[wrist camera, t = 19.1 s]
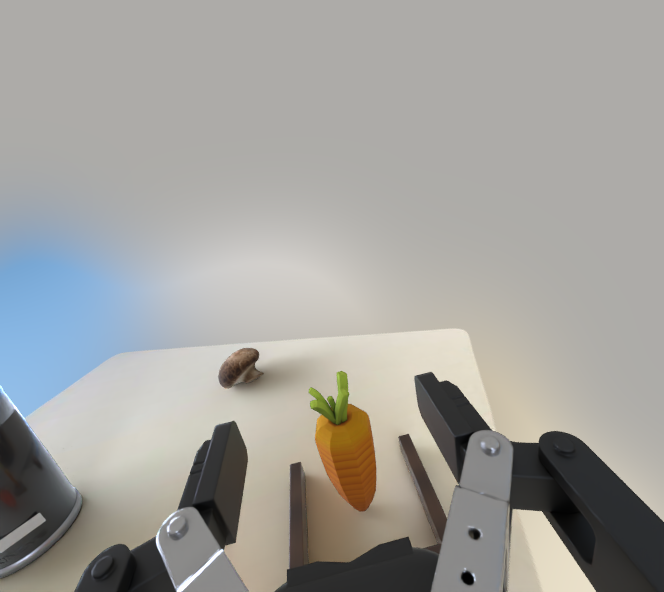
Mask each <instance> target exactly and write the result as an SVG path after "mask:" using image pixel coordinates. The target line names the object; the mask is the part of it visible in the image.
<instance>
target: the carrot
mask: <svg viewBox="0 0 664 592" xmlns="http://www.w3.org/2000/svg"><path fill="white" fill-rule="evenodd" d="M337 385H338V396H337V401H336V404H335V402H334V399H333V397H332V396H329V397H328V398H327V400H328V402H329V404H330V406H331V407H330V406H329V404H328V403H327V402H326V400H325V399H324V398H323V396H322V395H321V394H320V393H319V392H318V391H317V390H315V389H313V388H312V387H311V388H310V389H309V392H308V393H310V394H311V395H312V396H313V397H315V398H316V399H317V400H313V401H311V402H310V407H311V409H313V410H315V411H317V412H319V413H320V414H322V415H321V416H320V417H319V418H318V419H317V426H316V434H315V441H316V445H317V448H318V451H319V454H320V457H321V459H322V462H323V465H324V467H325V470H326V472H327V475H328V476H329V478H330V480H331V482H332V483H333V485H334V486H335V488H336V490H337V491H338V493H339V494H340V495H341V496H342V497H343V498H344V499H345V500H346V501H347V502H348V503H349V504H350V505H351V506H353V507H354V508H355V509H357V510H358V511H365V510H366V509H367V508H368V507H369V505H370V503H371V502H372V500H373V497H374V494H375V491H376V461H375V451H374V444H373V437H372V431H371V426H370V420H369V417H368V415H367V413H366V412H364V411H362V410H361V409H359V408H357V407H355V406H354V405H352V404H348V396H349V392H348V380H347V374H346V373H345V372H343V371H340V372H337Z"/></svg>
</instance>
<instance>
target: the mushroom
mask: <svg viewBox="0 0 664 592" xmlns="http://www.w3.org/2000/svg"><path fill="white" fill-rule="evenodd" d="M258 358H259V352H258V351H257V350H256V349H253V348H243V349H240V350H238V351H236V352H234V353H233V354H232V355H231V356H230V357H229V358H227V360H226V361H225V362H224V363H223V364H222V366H221V368H220V370H219V375H218V378H219V382H220V384H221V385H222V386H223V387H224V388H231V387H232V386H234V385H235V384H237V383H240V382H245V383H249V382H251V381H253V380H255V379H257V378H258V377H260V376H261V375H263V373H262V372H260V371H258V370H256V368H255V362H256V361H257V360H258Z"/></svg>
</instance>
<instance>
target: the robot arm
mask: <svg viewBox="0 0 664 592" xmlns="http://www.w3.org/2000/svg"><path fill="white" fill-rule="evenodd" d="M415 387H416V394H417V402H418V407H419V410H420V413H421V416H422V418H423V420H424V422H425V423H426V425H427V427H428V429H429V431H430V433H431V434H432V436H433V438H434V440H435V442H436V444H437V446H438V447H439V449H440V451H441V453H442V455H443V457H444V458H445V460H446V462H447V464H448V466H449V468H450V469H451V471H452V473H453V475H454V477H455V479H456V480H457V482H458V484H459V486H458V485H456V487H455V489H454V493H453V497H452V501H451V506H450V510H449V514H448V519H447V523H446V528H445V532H444V536H443V541H442V545H441V549H440V554H438V553H436V552H433V551H430V550H427V549H422V548H414V547H412V546H411V543H410V540H409V537H406V538H402V539H398V540H395V541H391V542H387V543H383V544H380V545H378V546H376V547H374V548H373V549H371V550H370V551H368V552H366V553H365V554H363V555H361V556H360V557H358V558H357V559H355V560H353V561H351V562H347V563H345V562H314V563H310V564H306V565H303V566H299V567H295V568H291V569H288V570H287V582H286V583H285V584H283V585H282V586H281V587H279V588H278V589H277V590H276V591H275V592H508V581H509V558H510V543H511V528H512V513H513V509H521V510H533V511H542V512H543V513H544V515H545V516H546V518H547V519H548V521H549V522H550V524H551V525H552V527H553V528H554V530H555V531H556V533H557V534H558V536H559V537H560V539H561V540H562V541H563V543H564V544H565V546H566V547H567V549H568V550H569V552H570V553H571V555H572V556H573V557H574V559H575V561H576V562H577V564H578V565H579V567H580V568H581V570H582V571H583V572H584V573H585V575H586V577H587V578H588V580H589V581H590V583H591V584H592V585H593V587H594V589H595V590H596V592H664V522H663V521H662V520H661V519H660V518H659V517H658V516H657V515H656V514H655V513H654V512H653V511H652V510H651V509H650V508H649V507H648V506H647V505H646V504H645V503H644V502H643V501H642V500H641V499H640V498H639V497H638V496H637V495H636V494H635V493H634V492H633V491H632V490H631V489H630V488H629V487H628V486H627V485H626V484H625V483H624V482H623V481H622V480H621V479H620V478H619V477H618V476H617V475H616V474H615V473H614V472H613V471H612V470H611V469H610V468H609V467H608V466H607V465H606V464H605V463H604V462H603V461H602V460H601V459H600V458H599V457H598V456H597V455H596V454H595V453H594V452H593V451H592V450H591V449H590V448H589V447H588V446H587V445H586V444H585V443H584V442H583V441H581V440H580V439H579V438H577V437H575V436H573V435H571V434H568V433H564V432H558V431H551V432H547V433H545V434H543V435H542V436H541V437H540V439H539V443H519V442H512V441H509V440H508V439H507V438H506V437H505V436H504V435H502V434H500V433H498V432H495V431H492V430H491V429H490V427H489V426H488V425H487V424H486V422H485V421H484V420H483V419H482V417H481V416H480V415H479V413H478V412H477V411H476V410H475V408H474V407H473V406H472V405H471V404H470V402H469V401H468V400H467V398H466V397H464V394H463V393H462V392H461V391H460V389H459V388H458V387H457V386H455V385H454V384H452V383H450V382H449V381H443V382H439V381H438V380H437V378H436V377H435V375H434V374H433V373H432V372H428V373H425V374H421V375H417V376H415ZM247 462H248V455H247V449H246V446H245V444H244V441H243V439H242V436H241V434H240V431H239V429H238V427H237V424H236V422H235V421H232V422H228V423H224V424H220V425H216V427H215V429H214V432H213V435H212V439H211V440H207V441H205V442H204V443H203V445H202V446H201V447H200V449H199V450H198V451H197V453H196V456H195V459H194V462H193V466H192V468H191V471H190V475H189V477H188V480H187V483H186V486H185V489H184V492H183V495H182V498H181V501H180V504H179V507H178V510H177V511H176V512H175V513H173V514H172V515H171V516H169V517H168V518H167V519H166V521H165V522H164V523H163V524H162V526H161V527H160V529H159V531H158V534H157V536H155V537H154V538H152V539H151V540H149V541H147V542H145V543H144V544H142V545H140V546H138V547H136V548H135V549H133V550H131V551H130V550H129V548H128V547H127V546H126V545H124V544H117V545H114V546H111V547H109V548H107V549H106V550H104V551H103V552H101V553H100V554H99V555H98V556H97V557H96V558H94V560H93V561H92V562H91V563H90V564H89V565H88V567H87V568H86V569H85V571H84V573H83V574H82V576H81V578H80V581H79V583H78V585H77V587H76V589H75V591H74V592H249V591H248V589H247V588H246V586H245V584H244V583H243V581H242V580H241V578H240V576H239V575H238V573H237V572H236V570H235V568H234V567H233V565H232V564H231V562H230V560H229V559H228V557H227V556H226V554H225V552H224V548H225V545H229V544H232V543H236V536H237V530H238V523H239V516H240V509H241V503H242V496H243V489H244V483H245V476H246V469H247ZM81 505H82V497H81V495H80V493H79V492H78V491H77V489H76V488H74V487H73V486H72V485H71V483H70V482H69V480H68V479H67V478H66V476H65V475H64V473H63V472H62V470H61V469H60V467H59V466H58V465H57V463H56V462H55V461H54V459H53V458H52V456H51V455H50V454H49V452H48V451H47V449H46V448H45V447H44V445H43V444H42V443H41V441H40V440H39V438H38V437H37V436H36V434H35V433H34V431H33V430H32V429H31V427H30V426H29V425H28V423H27V422H26V420H25V419H24V418H23V416H22V415H21V414H20V412H19V411H18V409H17V408H16V407H15V406H14V404H13V403H12V402H11V400H10V399H9V397H8V396H7V395H6V393H5V392H4V390H3V389H2V388H1V386H0V578H2V577H5V576H7V575H10V574H12V573H14V572H16V571H18V570H20V569H21V568H23V567H25V566H26V565H28V564H29V563H31V562H32V561H34V560H35V559H37V558H38V557H39V556H40V555H42V554H43V553H44V552H45V551H47V550H48V549H49V548H50V547H51V546H52V545H53V544H54V543H55V542H57V541H58V540H59V539H60V537H61V536H62V535H63V534H64V533H65V532H66V531H67V530H68V528H69V527H70V526H71V524H72V523H73V522H74V520H75V519H76V517H77V515H78V513H79V511H80V508H81Z"/></svg>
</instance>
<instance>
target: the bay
mask: <svg viewBox="0 0 664 592" xmlns="http://www.w3.org/2000/svg"><path fill="white" fill-rule="evenodd" d="M398 438H399V443H400V449H401V452H402V454H403V457H404V459H405V462H406V465H407V467H408V470H409V472H410V475H411V477H412V480H413V482H414V485H415V487H416V490H417V492H418V495H419V497H420V500H421V502H422V505H423V507H424V510H425V512H426V515H427V517H428V520H429V522H430V525H431V528H432V530H433V533H434V535H435V538H436V540H437V543H438V544H437V545H434V546H430V547H426V548H423V549H427V550H430V551H433V552H436V553H438V554H440V549H441V545H442V541H443V536H444V532H445V528H446V523H447V517H446V515H445V513H444V511H443V509H442V506H441V504H440V502H439V500H438V498H437V495H436V493H435V491H434V489H433V487H432V484H431V482H430V480H429V478H428V476H427V473H426V471H425V469H424V467H423V464H422V462H421V460H420V458H419V456H418V453H417V451H416V449H415V447H414V445H413V442H412V440H411V438H410V436H409V434H406V435H403V436H399V437H398ZM306 564H309V560H308V536H307V512H306V488H305V473H304V470H303V467H302V464H301V462H298V463H294V464H291V465H290V539H289V569H291V568H295V567H299V566H303V565H306Z"/></svg>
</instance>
